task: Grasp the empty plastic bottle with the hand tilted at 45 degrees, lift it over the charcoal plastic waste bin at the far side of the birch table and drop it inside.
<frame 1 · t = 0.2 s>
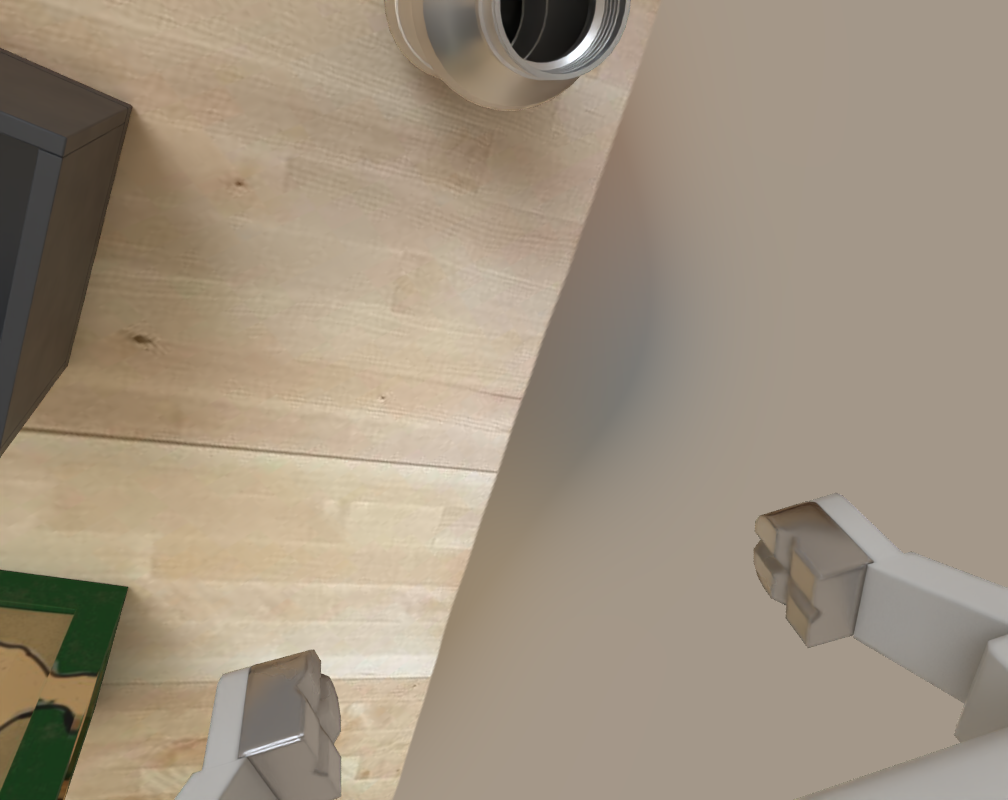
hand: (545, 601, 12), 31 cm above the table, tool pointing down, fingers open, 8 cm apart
container: (2, 642, 47), on the table
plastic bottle: (445, 6, 34), on the table
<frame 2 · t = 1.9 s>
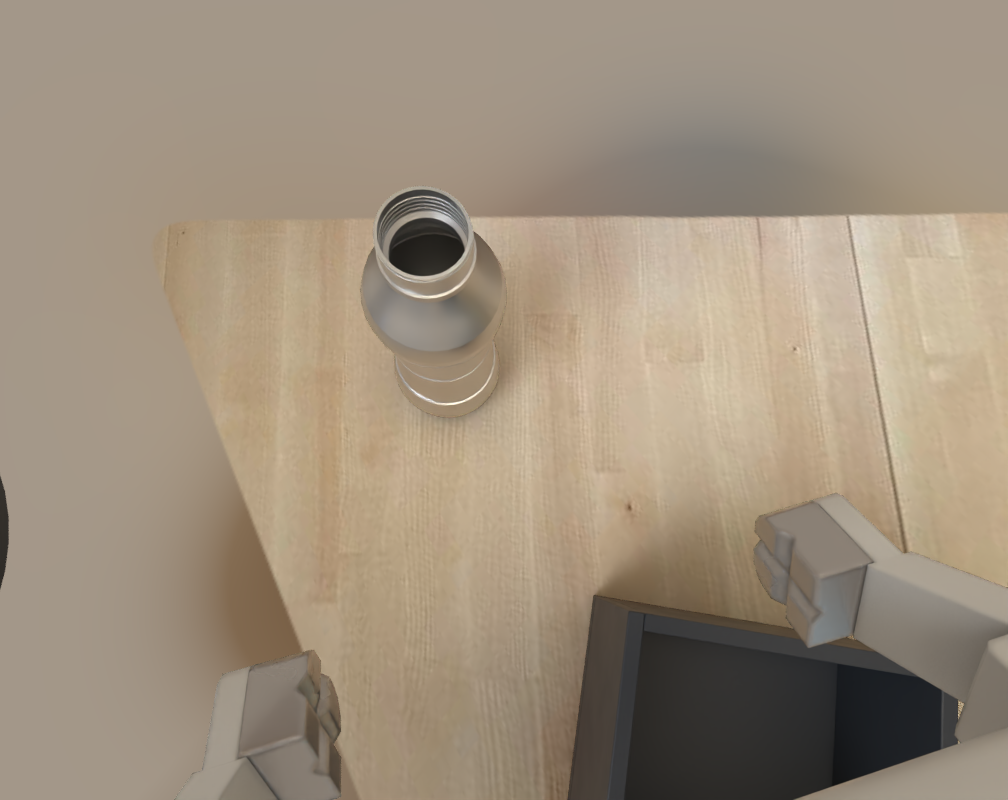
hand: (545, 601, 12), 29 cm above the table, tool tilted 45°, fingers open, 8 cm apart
waste bin: (708, 735, 38), on the table
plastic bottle: (449, 375, 43), on the table
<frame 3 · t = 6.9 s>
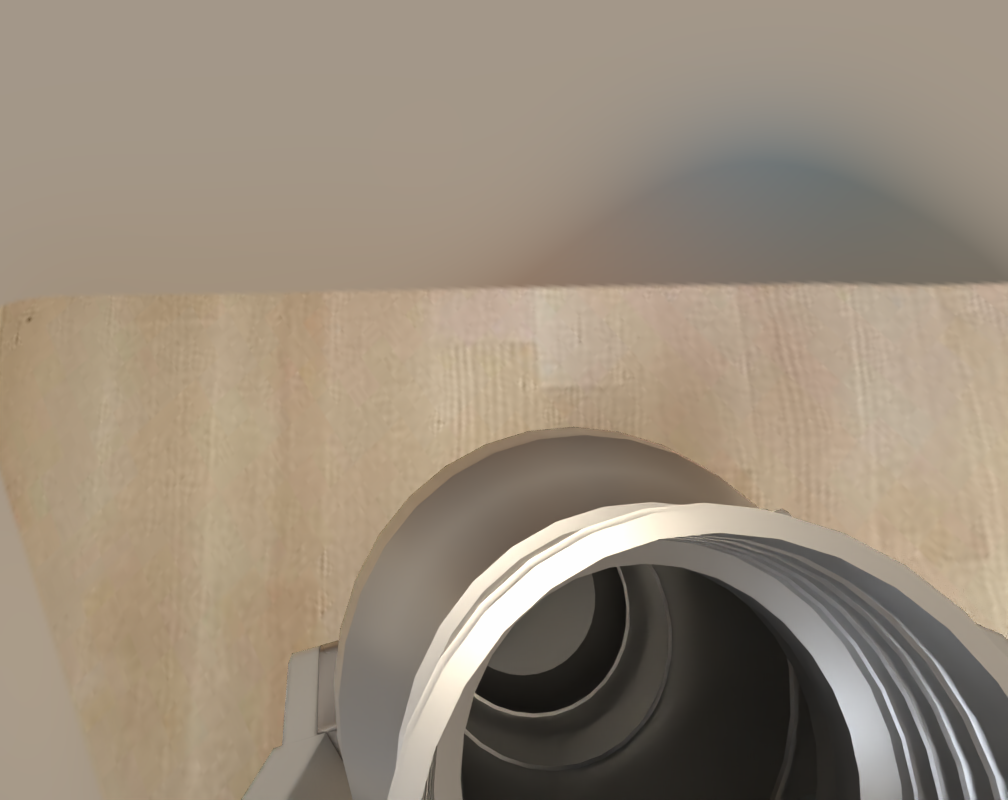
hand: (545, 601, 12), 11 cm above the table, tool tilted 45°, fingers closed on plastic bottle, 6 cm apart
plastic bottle: (519, 592, 23), on the table, touching gripper
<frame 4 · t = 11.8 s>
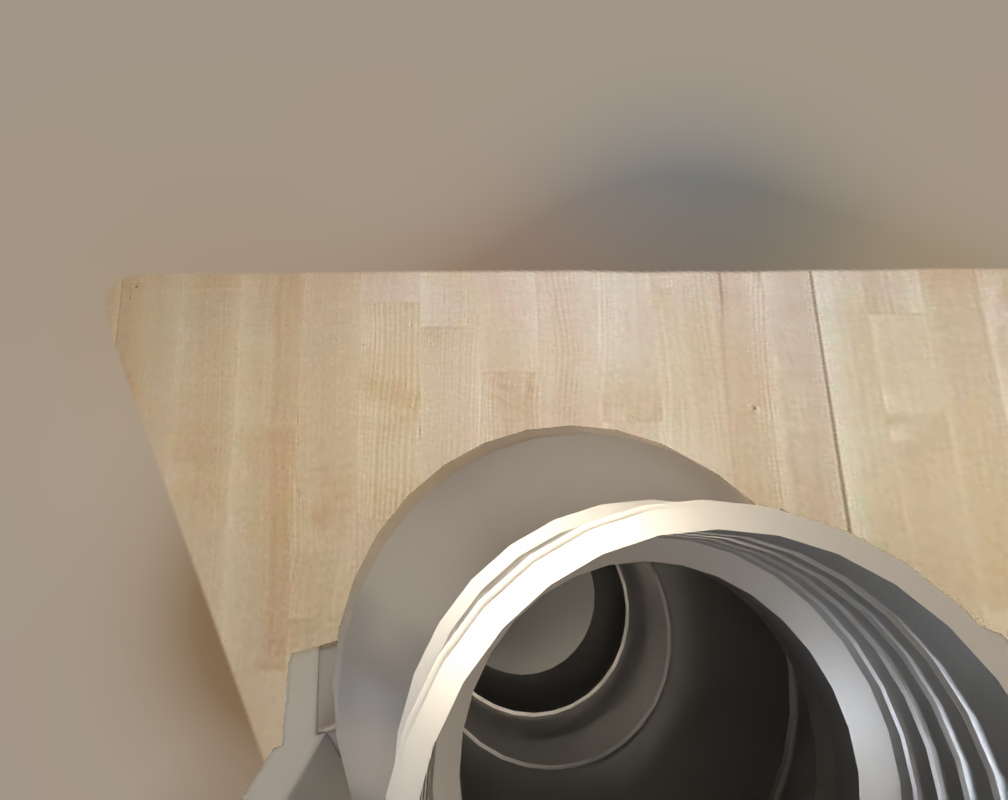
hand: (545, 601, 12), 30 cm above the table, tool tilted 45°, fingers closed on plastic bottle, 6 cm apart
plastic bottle: (518, 591, 23), point 18 cm above the table, touching gripper
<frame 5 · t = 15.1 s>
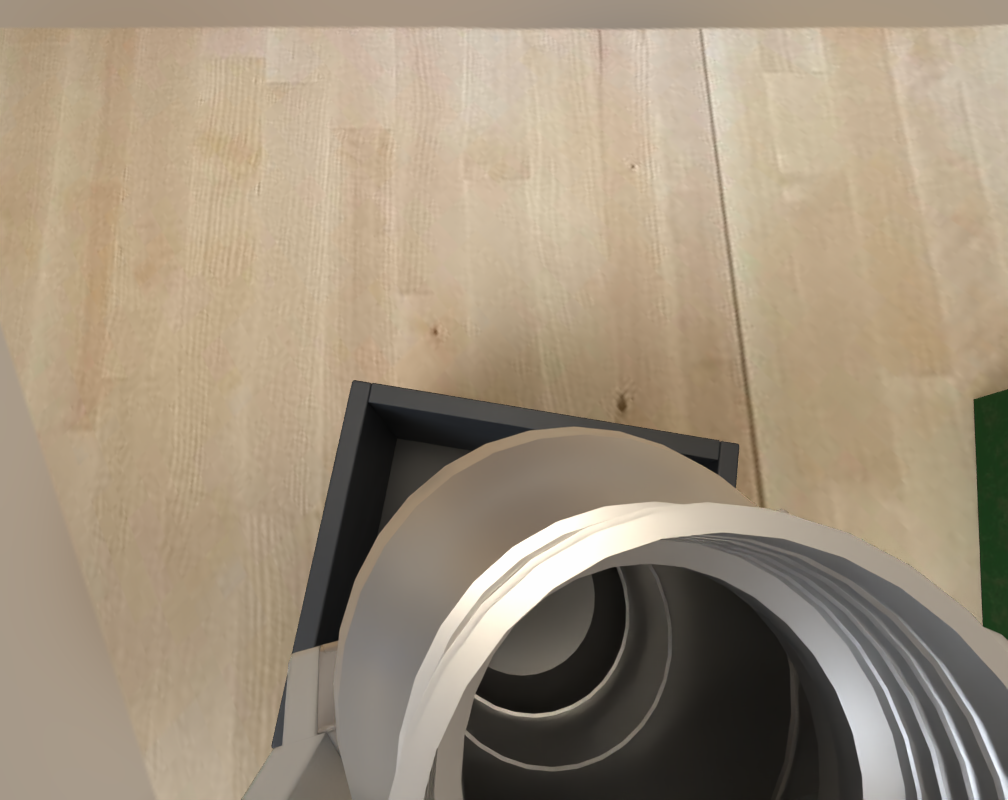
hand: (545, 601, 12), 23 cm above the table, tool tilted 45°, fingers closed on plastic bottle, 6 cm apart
waste bin: (509, 575, 34), on the table
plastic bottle: (519, 592, 23), point 11 cm above the table, touching gripper
when the fingers open (18 cm above the table, at t = 17.0 s): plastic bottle drops 6 cm, resting on waste bin.
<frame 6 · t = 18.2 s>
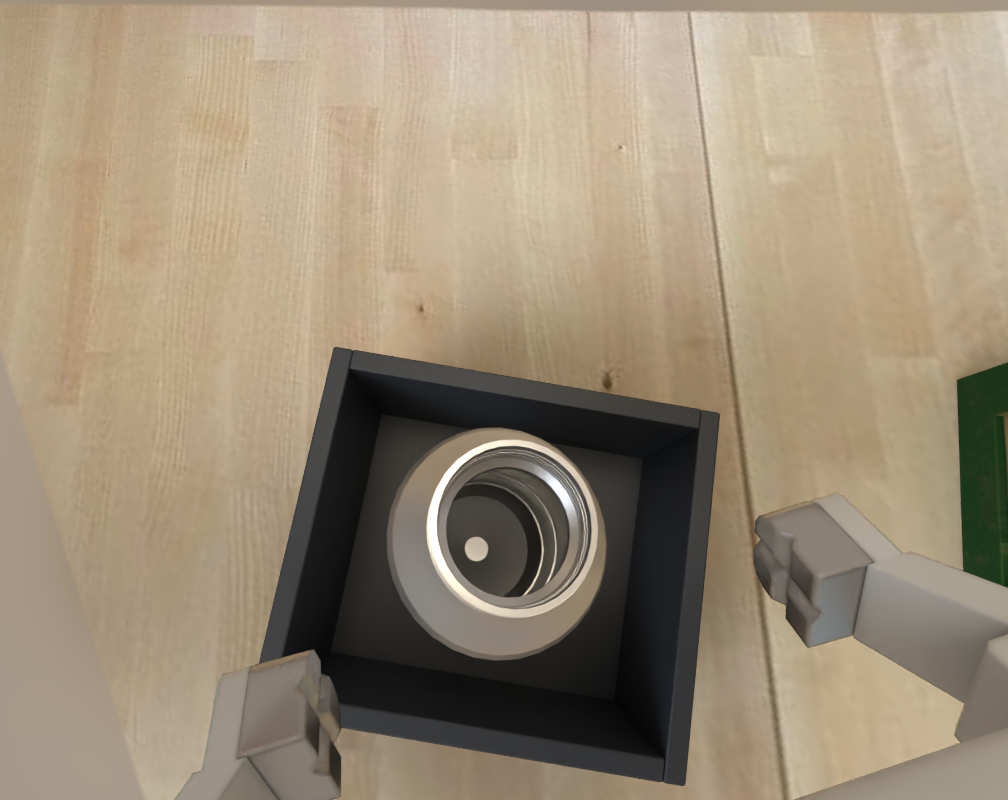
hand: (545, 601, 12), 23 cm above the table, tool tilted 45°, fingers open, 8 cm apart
waste bin: (492, 551, 34), on the table
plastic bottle: (476, 549, 33), point 1 cm above the table, touching waste bin
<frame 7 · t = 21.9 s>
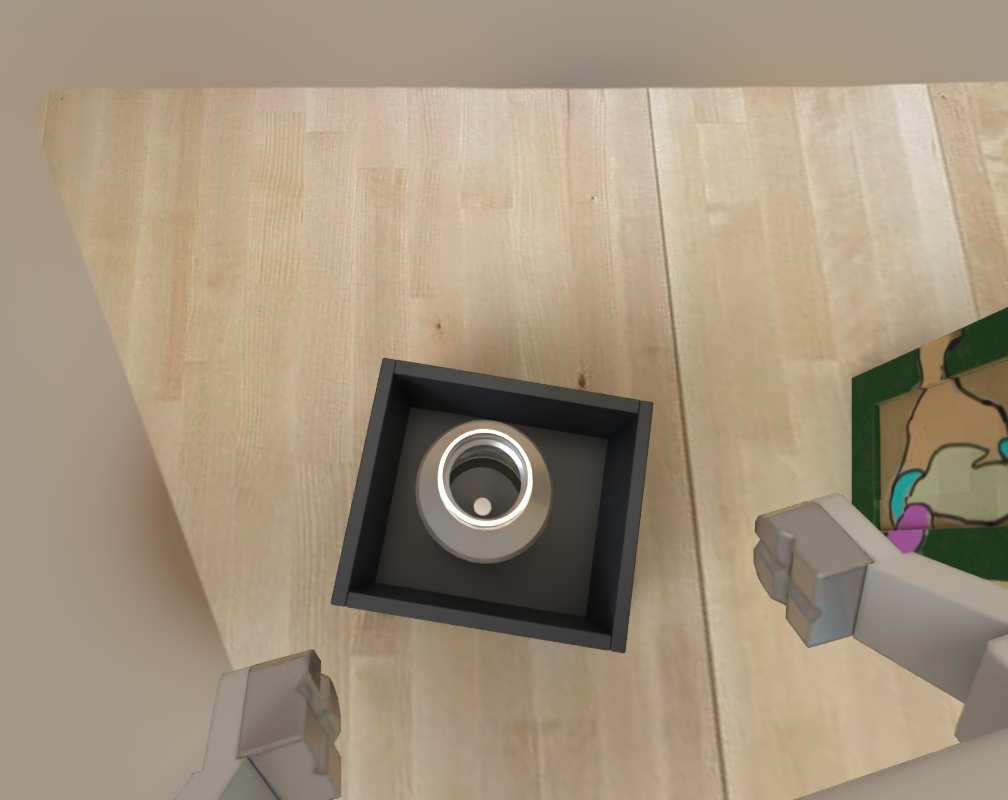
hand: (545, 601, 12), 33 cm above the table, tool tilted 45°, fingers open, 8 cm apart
container: (951, 485, 47), on the table
waste bin: (495, 509, 45), on the table
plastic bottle: (482, 507, 44), point 1 cm above the table, touching waste bin
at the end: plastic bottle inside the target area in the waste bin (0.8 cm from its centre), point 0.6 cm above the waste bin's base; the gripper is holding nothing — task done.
